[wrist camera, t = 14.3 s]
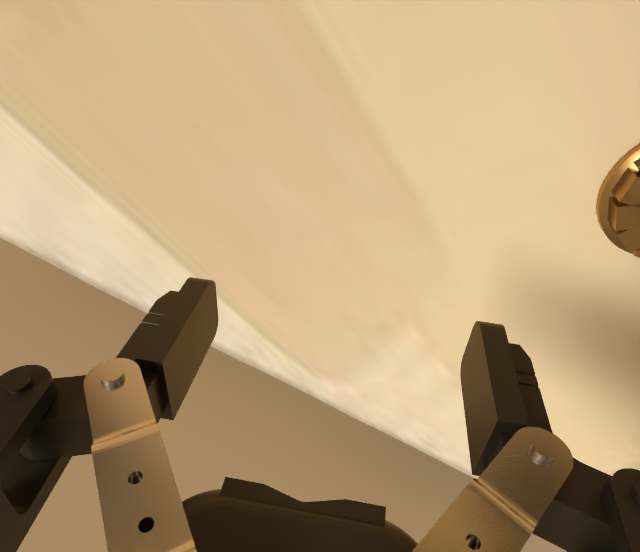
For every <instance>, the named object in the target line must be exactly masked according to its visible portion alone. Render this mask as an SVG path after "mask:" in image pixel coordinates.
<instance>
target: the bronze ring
mask: <svg viewBox="0 0 640 552" xmlns="http://www.w3.org/2000/svg"><path fill="white" fill-rule="evenodd" d="M596 211H597V218H598V222H599V224H600V226H601V228H602V230H603V231H604V233H605V234H606V236H607V237H608V238H609V239H610V240H611V241H612V243H614V244H615V245H616V246H618V247H619V248H621V249H623V250H625V251H627V252H630V253H633V254H634V256H637V257H640V143H639V144H638V145H637V146H635V147H634V148H632V149H631V150H630V151H628V152H627V153H626V154H625V155H624V156H623V157H622V158H621V159H620V160H619V161H618V162H617V163H616V164H615V165H614V166H613V168H612V169H611V170H610V172H609V173H608V174H607V176H606V178H605V179H604V181H603V183H602V185H601V188H600V190H599V194H598V197H597V204H596Z"/></svg>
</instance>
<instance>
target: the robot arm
mask: <svg viewBox="0 0 640 552" xmlns="http://www.w3.org/2000/svg"><path fill="white" fill-rule="evenodd" d="M217 326H218V309H217V297H216V286H215V282H214V281H212V280H205V279H199V278H192V277H190V278H188V279H187V281H186V282H185V284H184V285H183V287H182V288H181V290H180V291H179V292H176V291H169V292H168V293H166V294H165V295H164V296H162V297H161V298H159V299H158V300H157V301H156V302H155V303H154V305H153V306H152V308H151V309H150V311H149V313H148V314H147V315H146V316H145V318H144V319H143V321H142V324H140V325H139V326H138V328H137V329H136V330H135V332H134V333H133V334H132V336H131V337H130V339H129V340H128V342H127V343H126V345H125V346H124V347H123V349H122V350H121V351H120V353H119V354H118V356H117V357H116V358H114V359H109V360H106V361H103V362H101V363H99V364H98V365H96V366H95V367H93V368H92V369H91V370H90V371H89V372H88V374H87V375H83V376H75V377H64V378H54V379H52V376H51V374H50V372H49V371H48V370H47V369H46V368H45V367H42V366H38V365H26V366H21V367H18V368H15V369H12V370H10V371H8V372H6V373H4V374H3V375H2V376H0V552H16V551H17V549H18V548H19V546H20V544H21V542H22V541H23V539H24V537H25V536H26V534H27V532H28V531H29V529H30V527H31V526H32V524H33V522H34V520H35V519H36V517H37V515H38V513H39V512H40V510H41V508H42V507H43V505H44V503H45V501H46V500H47V498H48V496H49V495H50V493H51V491H52V490H53V488H54V486H55V485H56V483H57V481H58V479H59V478H60V476H61V474H62V473H63V471H64V469H65V467H66V466H67V464H68V462H69V461H70V459H71V457H72V456H77V455H85V454H92V457H93V463H94V469H95V476H96V482H97V488H98V494H99V500H100V506H101V512H102V518H103V524H104V530H105V536H106V542H107V549H108V552H520V551H521V549H522V548H523V546H524V545H525V543H526V542H527V540H528V538H529V537H530V535H531V534H532V533H533V534H535V535H537V536H539V537H541V538H543V539H545V540H547V541H549V542H551V543H553V544H554V545H557V546H558V547H560V548H562V549H564V550H566V551H567V552H640V471H639V470H636V469H621V470H618V471H617V472H616V473H614V475H613V476H610V475H608V474H606V473H603V472H601V471H599V470H597V469H594V468H592V467H590V466H588V465H585V464H583V463H581V462H579V461H578V460H576V459H575V458H573V457H572V454H571V452H570V450H569V449H568V447H567V446H566V445H565V443H564V442H563V441H562V440H561V439H560V438H558V437H557V436H556V435H554V434H553V433H552V430H551V426H550V423H549V420H548V416H547V413H546V409H545V406H544V403H543V399H542V396H541V392H540V389H539V388H538V382H537V379H536V376H535V372H534V369H533V365H532V362H531V359H530V357H529V356H528V355H527V354H526V352H525V351H524V350H523V349H522V347H521V346H520V345H517V344H511V343H508V339H507V335H506V331H505V328H504V326H503V325H501V324H494V323H487V322H480V321H477V322H476V323H475V324H474V327H473V329H472V332H471V335H470V338H469V341H468V344H467V346H466V349H465V352H464V355H463V358H462V363H461V385H462V393H463V401H464V410H465V418H466V426H467V435H468V443H469V451H470V460H471V468H472V475H477V476H480V477H479V478H478V479H475V478H474V479H473V480H472V481H471V482H470V483H469V484H468V485H467V486H466V487H465V489H464V490H463V491H462V492H461V493H460V495H459V496H458V497H457V498H456V499H455V501H454V502H453V503H452V504H451V505H450V507H449V508H448V509H447V510H446V511H445V513H444V514H443V515H442V516H441V517H440V518H439V520H438V521H437V522H436V523H435V524H434V526H433V527H432V528H431V529H430V530H429V532H428V533H427V534H426V535H425V536H424V538H423V539H422V540H421V541H420V542H419V544H418V543H417V542H415V540H414V539H413V538H411V536H409V535H408V534H407V533H405V532H404V531H403V530H402V529H400V528H399V527H397V526H396V525H394V524H392V523H391V522H388V521H387V520H385V512H386V507H383V506H378V505H373V504H367V503H362V502H357V501H351V500H346V499H344V500H330V501H317V502H301V501H298V500H296V499H294V498H292V497H290V496H287V495H286V494H283V493H281V492H279V491H277V490H275V489H273V488H271V487H269V486H267V485H264V484H260V483H255V482H249V481H244V480H239V479H233V478H228V477H225V480H224V483H223V486H222V489H218V490H212V491H207V492H203V493H201V494H197V495H195V496H192V497H190V498H188V499H186V500H184V501H183V502H181V498H180V495H179V492H178V488H177V485H176V482H175V479H174V475H173V472H172V469H171V465H170V462H169V459H168V455H167V452H166V449H165V446H164V442H163V439H162V436H161V432H160V429H159V426H158V422H159V420H160V418H164V419H169V420H174V418H175V416H176V414H177V411H178V410H179V407H180V406H181V404H182V401H183V400H184V398H185V396H186V394H187V392H188V389H189V387H190V386H191V384H192V381H193V379H194V377H195V375H196V373H197V371H198V369H199V367H200V365H201V363H202V361H203V359H204V357H205V355H206V353H207V351H208V349H209V347H210V345H211V343H212V341H213V339H214V337H215V334H216V331H217Z"/></svg>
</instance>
